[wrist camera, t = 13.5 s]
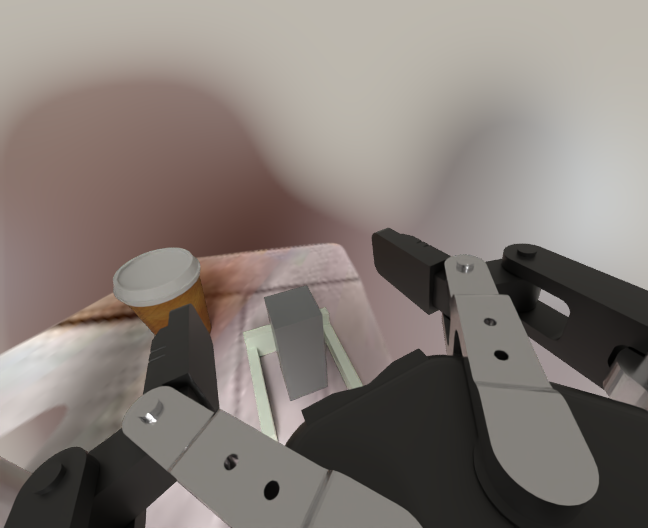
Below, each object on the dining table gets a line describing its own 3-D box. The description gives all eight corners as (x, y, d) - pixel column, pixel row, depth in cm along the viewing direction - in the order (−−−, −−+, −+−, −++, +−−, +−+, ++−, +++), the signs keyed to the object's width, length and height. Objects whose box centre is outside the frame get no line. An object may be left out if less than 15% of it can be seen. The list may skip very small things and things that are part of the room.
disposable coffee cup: (203, 301, 45) (176, 238, 38) (235, 331, 40) (211, 263, 33) (141, 336, 40) (97, 270, 33) (168, 377, 34) (123, 307, 27)
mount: (367, 405, 30) (369, 385, 28) (266, 448, 28) (259, 429, 25) (327, 327, 40) (326, 307, 37) (248, 352, 37) (242, 332, 34)
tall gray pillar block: (327, 386, 32) (322, 314, 25) (290, 401, 31) (274, 329, 24) (314, 355, 36) (306, 284, 29) (280, 367, 35) (263, 296, 28)
